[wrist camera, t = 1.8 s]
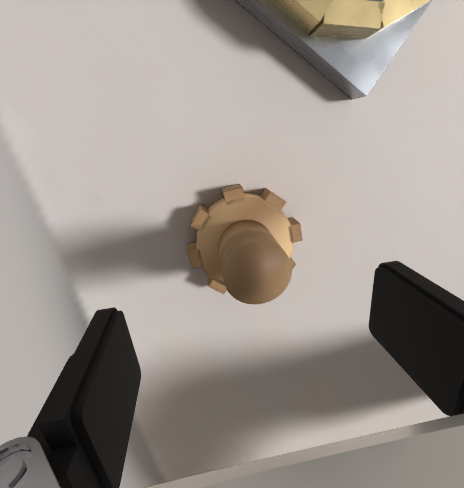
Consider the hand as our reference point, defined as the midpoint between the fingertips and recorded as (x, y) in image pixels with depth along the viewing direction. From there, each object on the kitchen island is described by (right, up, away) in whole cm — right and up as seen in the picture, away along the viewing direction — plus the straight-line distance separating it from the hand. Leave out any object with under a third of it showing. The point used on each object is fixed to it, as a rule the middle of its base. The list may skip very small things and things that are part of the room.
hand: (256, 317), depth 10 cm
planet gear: (0, +3, +9) cm, 10 cm away
